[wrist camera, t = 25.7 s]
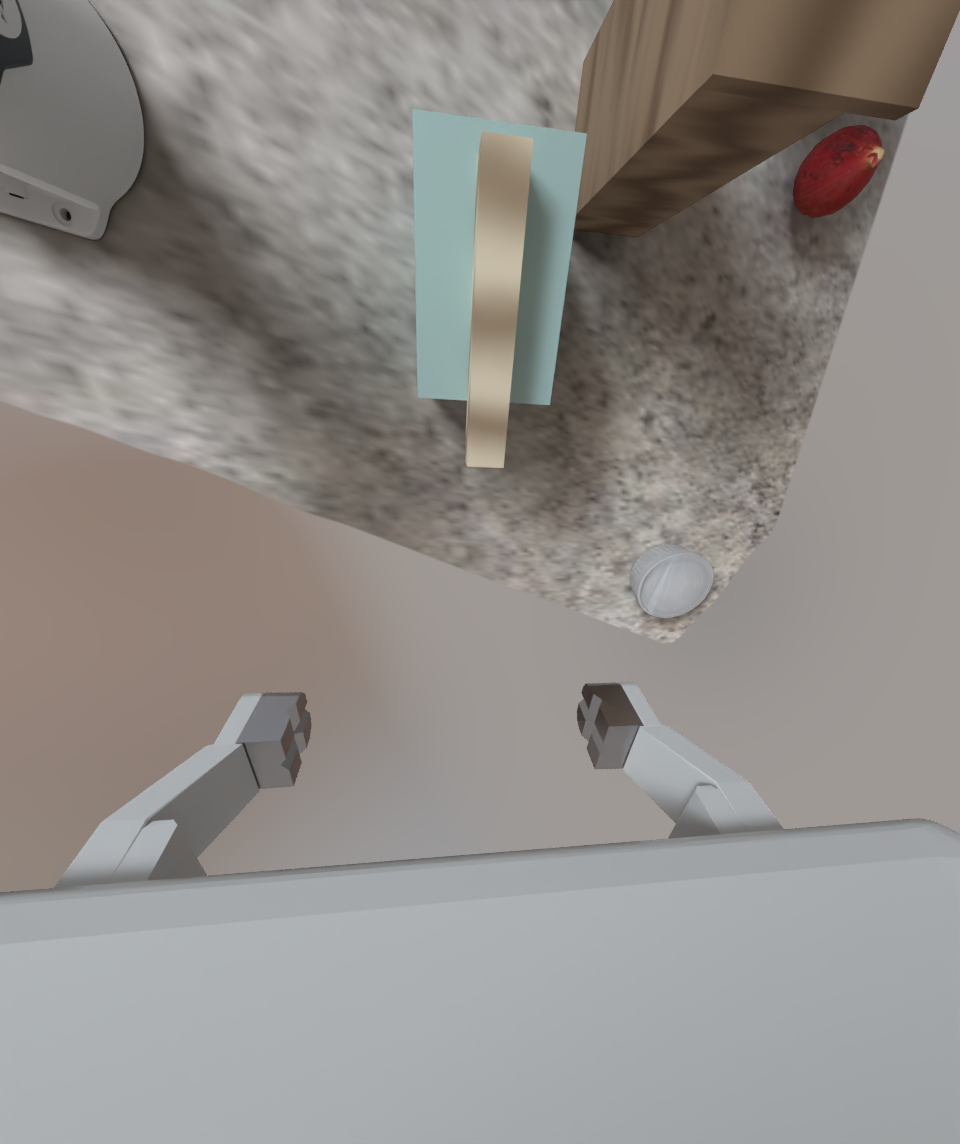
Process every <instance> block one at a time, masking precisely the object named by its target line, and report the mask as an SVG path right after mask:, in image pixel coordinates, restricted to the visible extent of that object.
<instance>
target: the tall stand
mask: <svg viewBox="0 0 960 1144" xmlns="http://www.w3.org/2000/svg"><path fill="white" fill-rule="evenodd" d="M959 10H960V0H614V1H613V3H612V5H611V7H610V9H609V11H608V13H607V15H606V17H605V19H604V21H603V23H602V25H601V27H600V29H599V31H598V33H597V35H596V38H595V40H594V42H593V44H592V46H591V48H590V50H589V52H588V54H587V56H586V58H585V60H584V63H583V71H582V79H581V87H580V95H579V103H578V111H577V119H576V127H575V132H580V133H587V137H586V144H585V152H584V159H583V166H582V174H581V181H580V188H579V196H578V203H577V210H576V218H575V225H574V230H583V231H592V232H601V233H610V234H619V235H628V236H637V237H639V236H640V235H642V234H644V233H645V232H647V231H649V230H650V229H652V228H654V227H655V226H657V225H659V224H660V223H662V222H664V221H665V220H667V219H669V218H670V217H672V216H673V215H675V214H677V213H678V212H680V211H682V210H683V209H685V208H687V207H688V206H690V205H692V204H693V203H695V202H697V201H698V200H700V199H702V198H703V197H705V196H707V195H708V194H710V193H712V192H713V191H715V190H717V189H718V188H720V187H722V186H723V185H725V184H727V183H728V182H730V181H732V180H733V179H735V178H737V177H738V176H740V175H741V174H743V173H745V172H746V171H748V170H750V169H751V168H753V167H755V166H756V165H758V164H760V163H761V162H763V161H765V160H766V159H768V158H770V157H771V156H773V155H775V154H776V153H778V152H780V151H781V150H783V149H785V148H786V147H788V146H790V145H791V144H793V143H795V142H796V141H798V140H800V139H801V138H803V137H805V136H806V135H808V134H809V133H811V132H813V131H814V130H816V129H818V128H819V127H821V126H823V125H824V124H826V123H828V122H829V121H831V120H833V119H834V118H836V117H838V116H839V115H841V114H843V113H844V112H847V113H853V114H859V115H866V116H872V117H878V118H884V119H890V120H897V119H899V118H901V117H902V116H904V115H906V114H908V113H910V112H912V111H914V110H916V109H918V108H919V106H920V103H921V101H922V98H923V96H924V94H925V91H926V89H927V86H928V84H929V82H930V79H931V77H932V74H933V72H934V70H935V68H936V65H937V63H938V60H939V58H940V56H941V53H942V51H943V49H944V46H945V44H946V41H947V39H948V37H949V34H950V32H951V29H952V27H953V25H954V22H955V20H956V18H957V15H958V13H959Z"/></svg>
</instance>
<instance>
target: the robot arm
mask: <svg viewBox="0 0 960 1144" xmlns="http://www.w3.org/2000/svg"><path fill="white" fill-rule="evenodd" d="M143 150H144V126H143V117H142V112H141V106H140V102H139V98H138V94H137V91H136V88H135V84H134V81H133V79H132V76H131V73H130V71H129V68H128V66H127V64H126V61H125V59H124V57H123V55H122V53H121V51H120V49H119V47H118V45H117V43H116V42H115V40H114V38H113V36H112V35H111V33H110V31H109V30H108V28H107V27H106V25H105V24H104V22H103V21H102V19H101V18H100V16H99V15H98V13H97V12H96V11H95V9H94V8H93V7H92V6H91V4H90V3H89V2H88V1H87V0H0V212H1V213H4V214H7V215H11V216H14V217H17V218H21V219H24V220H27V221H31V222H34V223H37V224H41V225H44V226H47V227H51V228H54V229H57V230H61V231H64V232H67V233H71V234H74V235H77V236H81V237H84V238H88V239H92V240H96V239H99V238H100V237H101V236H102V235H103V233H104V231H105V228H106V225H107V222H108V218H109V213H110V209H111V208H112V206H113V205H114V204H115V202H116V201H117V200H119V199H120V198H121V197H122V196H123V195H124V194H125V193H126V192H127V191H128V190H129V188H130V187H131V186H132V184H133V183H134V181H135V179H136V177H137V175H138V172H139V169H140V166H141V162H142V158H143ZM67 211H69V213H70V215H71V220H70V221H69V220H68V219H67V216H66V213H67ZM582 695H583V697H584V699H583V700H582V701H581V702H580V703H579V705H578V709H577V721H578V726H579V729H580V732H581V735H582V736H583V737H584V738H586V739H587V740H588V741H589V743H588V746H587V750H588V753H589V755H590V758H591V760H592V763H593V766H594V768H595V769H613V768H614V769H615V768H623V770H624V772H625V773H626V774H627V775H628V776H629V777H631V779H632V780H633V781H634V782H635V783H636V784H637V785H638V786H639V787H640V788H641V789H642V790H643V791H644V792H645V793H646V794H647V795H648V796H649V797H650V798H651V799H652V800H653V801H654V802H655V803H656V804H657V805H658V806H659V807H660V808H661V809H662V810H663V811H664V812H665V813H666V814H667V815H668V816H669V817H670V818H671V819H672V820H673V821H674V822H675V823H676V825H675V827H674V828H673V831H672V832H671V834H670V836H669V838H668V839H659V840H647V841H634V842H622V843H609V844H597V845H584V846H572V847H560V848H547V849H534V850H523V851H509V852H497V853H484V854H471V855H459V856H446V857H434V858H422V859H409V860H396V861H384V862H372V863H361V864H347V865H334V866H322V867H310V868H298V869H285V870H273V871H260V872H248V873H236V874H223V875H210V876H207V874H206V873H205V871H204V869H203V868H202V866H201V864H200V863H199V861H198V859H197V857H198V856H199V855H200V854H201V853H202V852H203V851H204V850H205V849H206V848H207V847H208V846H209V844H210V843H211V842H212V841H213V840H214V839H215V838H216V837H217V836H218V835H219V834H220V833H221V832H222V831H223V830H224V829H225V828H226V826H227V825H228V824H229V823H230V822H231V821H232V820H233V819H234V818H235V817H236V816H237V815H238V814H239V812H240V811H241V810H242V809H243V808H244V807H245V806H246V805H247V804H248V803H249V802H250V801H251V800H252V799H253V798H254V796H255V795H256V794H257V793H258V792H259V789H266V788H277V787H290V786H294V784H295V781H296V778H297V775H298V772H299V769H300V766H301V758H300V753H301V752H303V750H305V749H306V748H307V745H308V742H309V739H310V732H311V718H310V713H309V712H308V711H307V710H305V706H306V704H307V699H306V695H305V693H302V692H299V693H298V692H297V693H296V692H294V693H246V694H245V695H243V696H242V697H241V698H240V700H239V702H238V703H237V705H236V707H235V708H234V710H233V712H232V714H231V715H230V717H229V719H228V721H227V722H226V724H225V726H224V727H223V729H222V731H221V733H220V734H219V736H218V738H217V739H216V741H215V743H214V745H207V746H206V747H204V748H203V749H201V750H200V751H199V752H197V753H196V754H194V755H193V756H192V757H191V758H189V759H188V760H186V761H185V762H183V763H182V764H181V765H179V766H178V767H177V768H175V769H174V770H172V771H171V772H170V773H168V774H167V775H166V776H164V777H163V778H161V779H160V780H159V781H157V782H156V783H155V784H153V785H152V786H150V787H149V788H148V789H146V790H145V791H144V792H142V793H141V794H139V795H138V796H137V797H135V798H134V799H133V800H131V801H130V802H128V803H127V804H126V805H124V806H123V807H122V808H120V809H119V810H117V811H116V812H115V813H113V814H112V815H111V816H109V817H108V818H107V819H105V820H104V821H102V822H101V823H100V825H99V826H98V828H97V829H96V831H95V832H94V833H93V834H92V836H91V837H90V839H89V840H88V841H87V843H86V844H85V846H84V847H83V848H82V850H81V851H80V853H79V854H78V855H77V857H76V858H75V859H74V861H73V862H72V863H71V865H70V866H69V867H68V869H67V870H66V872H65V873H64V875H63V876H62V877H61V879H60V880H59V881H58V883H57V884H56V886H55V887H54V888H49V889H37V890H23V891H11V892H0V1144H960V833H958V832H956V831H954V830H952V829H950V828H948V827H945V826H943V825H941V824H939V823H937V822H934V821H931V820H926V819H902V820H892V821H881V822H868V823H856V824H843V825H831V826H818V827H806V828H795V829H783V828H782V826H781V825H780V824H779V822H778V821H777V819H776V818H775V817H774V815H773V814H772V813H771V811H770V810H769V809H768V807H767V806H766V804H765V803H764V802H763V800H762V799H761V798H760V796H759V795H758V794H757V792H756V791H755V790H754V788H753V787H752V786H751V784H750V783H749V782H748V781H747V780H746V779H744V778H743V777H741V776H740V775H738V774H737V773H735V772H734V771H733V770H731V769H730V768H728V767H727V766H725V765H724V764H722V763H721V762H719V761H718V760H717V759H715V758H714V757H712V756H711V755H709V754H708V753H706V752H705V751H704V750H702V749H701V748H699V747H698V746H696V745H695V744H693V743H692V742H691V741H689V740H688V739H686V738H685V737H683V736H682V735H680V734H679V733H677V732H676V731H675V730H673V729H672V728H670V727H669V726H667V725H662V724H661V723H660V721H659V719H658V718H657V716H656V715H655V713H654V712H653V710H652V708H651V707H650V705H649V703H648V702H647V701H646V699H645V697H644V695H643V694H642V692H641V691H640V689H639V688H638V686H637V684H635V683H634V682H618V683H592V684H591V683H590V684H585V685H584V686H583V689H582Z"/></svg>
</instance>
